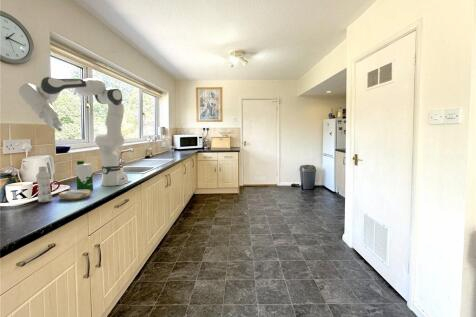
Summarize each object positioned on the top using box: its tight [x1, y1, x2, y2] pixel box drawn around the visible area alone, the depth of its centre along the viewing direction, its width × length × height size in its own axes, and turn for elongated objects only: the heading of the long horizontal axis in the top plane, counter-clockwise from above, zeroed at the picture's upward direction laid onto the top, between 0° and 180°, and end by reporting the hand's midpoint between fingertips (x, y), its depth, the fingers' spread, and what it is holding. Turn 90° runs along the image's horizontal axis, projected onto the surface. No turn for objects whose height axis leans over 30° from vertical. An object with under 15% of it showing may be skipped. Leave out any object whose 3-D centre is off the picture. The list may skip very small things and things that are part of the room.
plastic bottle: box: [35, 166, 53, 203], centre depth 142 cm, size 6×7×20 cm
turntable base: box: [62, 196, 88, 202], centre depth 152 cm, size 12×12×2 cm
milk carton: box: [74, 160, 94, 191], centre depth 172 cm, size 9×9×20 cm
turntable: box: [58, 189, 92, 200], centre depth 152 cm, size 16×16×2 cm
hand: (61, 128), depth 152 cm, fingers open, 8 cm apart
